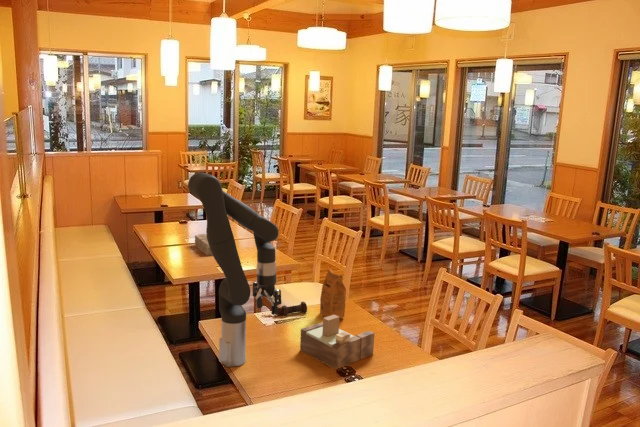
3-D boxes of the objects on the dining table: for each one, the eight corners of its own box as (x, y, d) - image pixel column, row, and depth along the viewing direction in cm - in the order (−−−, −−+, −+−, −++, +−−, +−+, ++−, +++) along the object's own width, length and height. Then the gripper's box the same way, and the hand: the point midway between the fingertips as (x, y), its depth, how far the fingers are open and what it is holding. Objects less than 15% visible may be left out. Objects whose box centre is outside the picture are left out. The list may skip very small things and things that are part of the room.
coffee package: (335, 310, 265) (337, 266, 261) (347, 319, 254) (349, 274, 250) (316, 312, 261) (318, 268, 257) (328, 322, 250) (330, 276, 246)
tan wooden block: (340, 344, 206) (341, 337, 205) (335, 342, 208) (335, 334, 207) (349, 341, 209) (350, 333, 209) (344, 338, 211) (345, 331, 211)
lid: (331, 349, 207) (332, 327, 205) (306, 336, 217) (306, 315, 216) (354, 340, 215) (355, 319, 213) (329, 328, 226) (329, 308, 224)
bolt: (275, 319, 256) (304, 314, 262) (278, 317, 252) (308, 312, 258) (273, 306, 258) (302, 302, 264) (276, 305, 253) (305, 300, 260)
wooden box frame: (336, 369, 206) (337, 347, 204) (300, 350, 221) (300, 329, 219) (373, 354, 220) (374, 333, 218) (337, 336, 235) (338, 316, 233)
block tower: (194, 246, 373) (206, 256, 347) (194, 234, 371) (206, 243, 346) (205, 245, 376) (218, 255, 351) (205, 233, 375) (218, 242, 350)
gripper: (247, 269, 212) (247, 308, 216) (271, 278, 203) (271, 319, 206) (261, 265, 217) (262, 303, 221) (286, 273, 208) (286, 313, 212)
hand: (266, 310), depth 214 cm, fingers open, 8 cm apart
